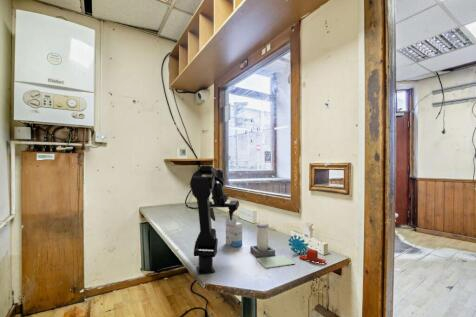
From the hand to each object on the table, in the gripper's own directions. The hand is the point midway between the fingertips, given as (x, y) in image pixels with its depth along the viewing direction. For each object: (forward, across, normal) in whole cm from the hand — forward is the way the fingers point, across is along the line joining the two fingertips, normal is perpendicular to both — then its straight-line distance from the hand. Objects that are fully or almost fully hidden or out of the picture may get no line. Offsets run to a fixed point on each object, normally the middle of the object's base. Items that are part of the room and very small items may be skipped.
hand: (223, 220), depth 120 cm
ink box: (+17, -2, -3) cm, 17 cm away
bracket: (+17, -42, +8) cm, 46 cm away
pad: (+13, -27, +14) cm, 32 cm away
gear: (+19, -36, -1) cm, 41 cm away
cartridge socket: (+15, -19, +6) cm, 25 cm away
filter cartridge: (+15, -19, +6) cm, 25 cm away
